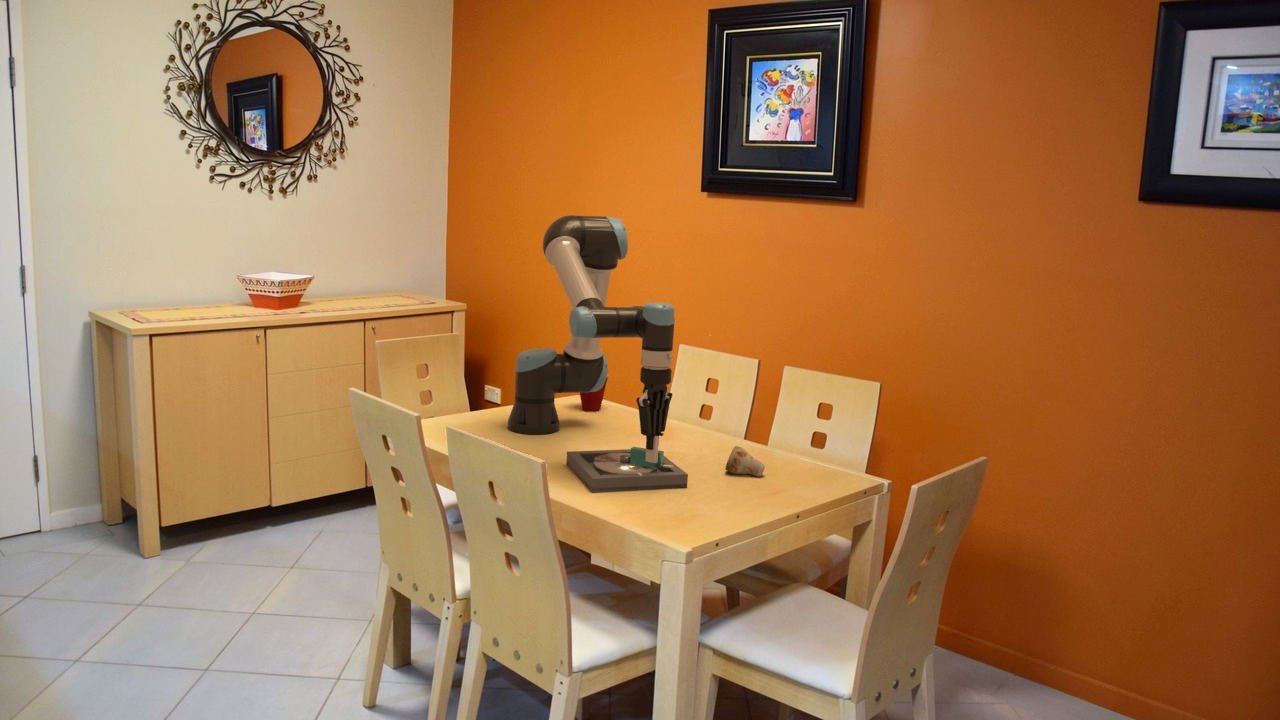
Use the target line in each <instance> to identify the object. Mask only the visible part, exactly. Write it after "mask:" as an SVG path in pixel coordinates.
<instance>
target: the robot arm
mask: <svg viewBox="0 0 1280 720" xmlns="http://www.w3.org/2000/svg"><path fill="white" fill-rule="evenodd" d="M628 249H629V240H628V233H627V229H626V226H625V224H624V222H623V221H622V219H620V218H618V217H611V216H607V215H605V216H599V215H598V216H597V215H595V216H594V215H573V214H572V215H571V214H569V215H564V216H561V217H559V218H557V219H556V220H555V221H553V222H552V223H551V224H549V226H548V228H547V229H546V230H545V232H544V235H543V239H542V251H543V253H544V254H543V255H544V257H545V259H546V261H547V262H548V263H549V264H550V265H552V266H553V267H554V270H555V273H556V274H557V277H558V279H559V281H560V284H561V287H562V288H563V290H564V293H565V296H566V297H567V299H568V302H569V304H570V305H569V306H570V307H571V311H570V313H569V319H568V325H569V330H570V333H571V334H570V340H569V342H567V343H565V345H564V347H563V351H562V353H558V352H557V351H556V349H554V348H549V347H547V348H546V347H545V348H543V347H542V348H541V347H539V348H533V349H528V350H524V351H521V352H519V354H518V355H517V357H516V361H515V367H514V371H515V376H514V378H515V379H514V401H513V402H514V404H513V406H512V409H511V411H510V414H509V416H508V418H507V419H508V420H507V429H508V430H509V431H512V432H515V433H519V434H524V435H548V434H552V433H553V434H554V433H557V432H558V431H559V430H560V419H559V415H558V412H557V411H558V410H557V409H556V404H555V399H556V398H555V396H556V394H568V393H569V394H576V393H579V394H580V393H581V392H583V393H588V392H595V391H598V390H600V389H601V388H602V387H603V385H604V383H605V381H606V378H607V374H608V371H609V369H608V365H609V364H608V363H609V362H608V359H607V356H606V355H605V354H604V351H603V349H602V347H600V343H601V338H602V339H604V338H606V339H607V338H608V339H609V338H617V339H618V338H628V339H629V338H640V339H641V352H640V353H641V354H640V355H641V357H640V364H641V367H640V375H639V376H640V379H639V380H640V382H641V383H642V384H643V385H644V386H643V389H642V395H641V397H636V400H635V401H636V404H637V407H638V414H639V415H638V416H639V428H640V434H641V435H642V436H645V437H646V440H645V448H646V462H651V463H657V462H658V450H659V444H660V442H659V441H660V437H663V436H664V434H665V433H664V432H665V431H666V425H667V420H668V415H669V410H670V404H671V400H672V398H673V392H669V391H668V386H667V385H669V384H671V383H672V373H673V372H672V370H673V369H671V368H670V367H672V365H673V349H674V347H673V346H674V336H675V335H674V334H675V333H674V330H675V322H676V318H675V306H674V305H673V304H671V303H665V302H647V303H645V304H644V306H642V305H632V306H627V307H626V306H623V307H620V306H619V307H617V306H614V307H613V306H612V307H611V306H606V303H607V297H608V291H609V286H610V278H611V273H612V272H613V271H615V270H616V269H617V268H618V262H619V261H621V260H624V259H625V258H626V256H627V254H628V252H629V251H628Z"/></svg>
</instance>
